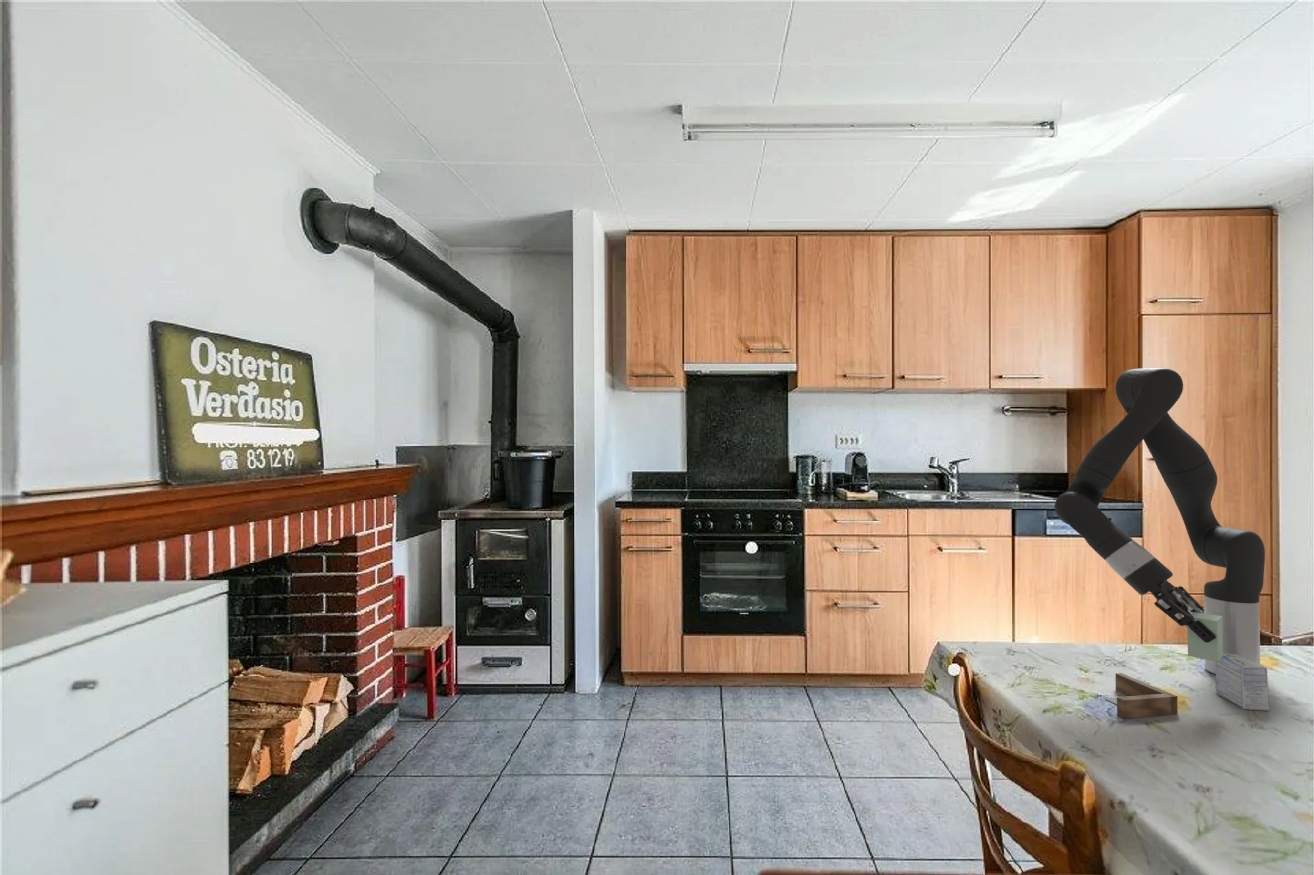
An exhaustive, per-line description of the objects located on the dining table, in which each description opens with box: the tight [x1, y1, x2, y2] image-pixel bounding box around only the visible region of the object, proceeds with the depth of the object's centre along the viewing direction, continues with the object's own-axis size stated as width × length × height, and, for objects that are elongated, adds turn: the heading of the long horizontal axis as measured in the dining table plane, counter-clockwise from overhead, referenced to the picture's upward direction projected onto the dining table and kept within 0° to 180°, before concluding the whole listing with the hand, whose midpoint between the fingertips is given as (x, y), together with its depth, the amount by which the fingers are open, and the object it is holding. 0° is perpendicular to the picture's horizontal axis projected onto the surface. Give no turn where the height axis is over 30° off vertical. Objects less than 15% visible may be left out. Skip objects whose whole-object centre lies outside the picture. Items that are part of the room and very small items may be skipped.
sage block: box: [1186, 612, 1223, 662], centre depth 121 cm, size 4×4×8 cm
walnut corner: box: [1105, 672, 1179, 720], centre depth 123 cm, size 12×12×4 cm
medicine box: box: [1215, 654, 1270, 712], centre depth 123 cm, size 8×4×9 cm, turn 168°
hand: (1214, 636), depth 120 cm, fingers closed on sage block, 4 cm apart
